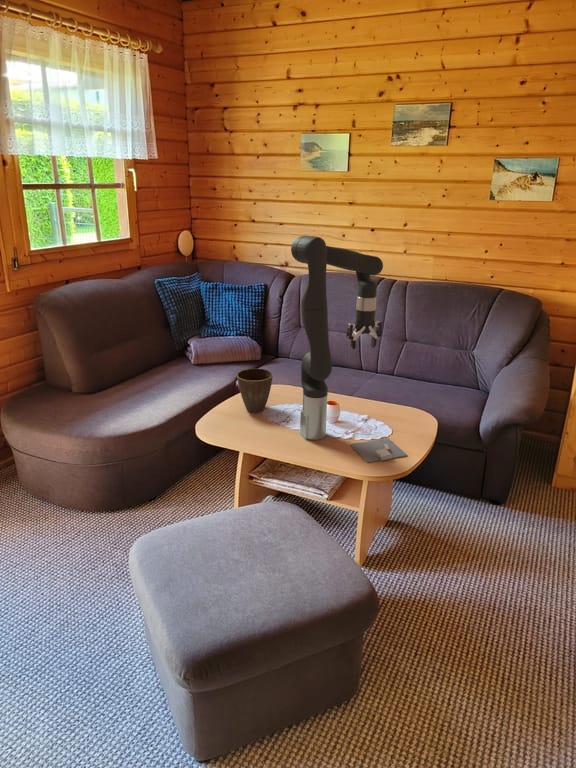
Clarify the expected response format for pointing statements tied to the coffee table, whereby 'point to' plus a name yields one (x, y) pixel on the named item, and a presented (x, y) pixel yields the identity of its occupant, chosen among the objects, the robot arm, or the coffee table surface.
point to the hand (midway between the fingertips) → (363, 348)
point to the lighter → (383, 453)
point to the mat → (371, 447)
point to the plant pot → (255, 388)
